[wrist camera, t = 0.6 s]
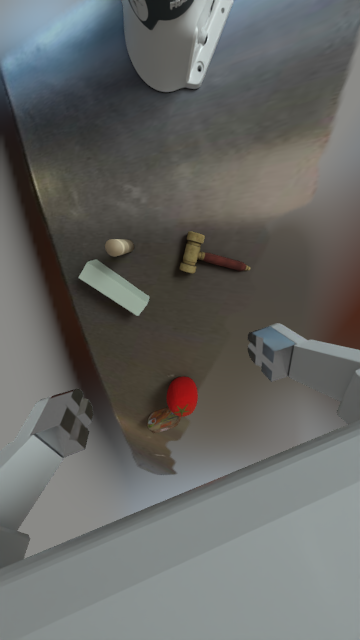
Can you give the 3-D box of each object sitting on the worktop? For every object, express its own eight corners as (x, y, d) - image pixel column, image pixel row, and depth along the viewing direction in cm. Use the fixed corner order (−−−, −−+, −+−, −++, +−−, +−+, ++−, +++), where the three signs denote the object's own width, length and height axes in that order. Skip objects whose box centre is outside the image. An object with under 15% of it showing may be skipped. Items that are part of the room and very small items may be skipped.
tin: (178, 403, 75) (179, 422, 67) (180, 408, 76) (182, 426, 69) (147, 413, 76) (145, 432, 69) (150, 417, 78) (148, 436, 70)
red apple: (184, 366, 66) (188, 396, 53) (200, 382, 70) (208, 413, 57) (160, 382, 69) (158, 414, 56) (177, 396, 73) (179, 429, 60)
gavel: (261, 252, 46) (246, 286, 50) (252, 251, 50) (240, 283, 55) (190, 230, 42) (180, 270, 46) (187, 231, 46) (178, 268, 50)
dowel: (126, 236, 45) (110, 235, 33) (136, 245, 46) (124, 246, 34) (120, 246, 46) (102, 249, 33) (130, 254, 47) (116, 259, 34)
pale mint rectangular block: (96, 259, 47) (87, 261, 42) (149, 297, 53) (147, 303, 47) (88, 273, 48) (78, 277, 43) (140, 308, 54) (137, 316, 49)
